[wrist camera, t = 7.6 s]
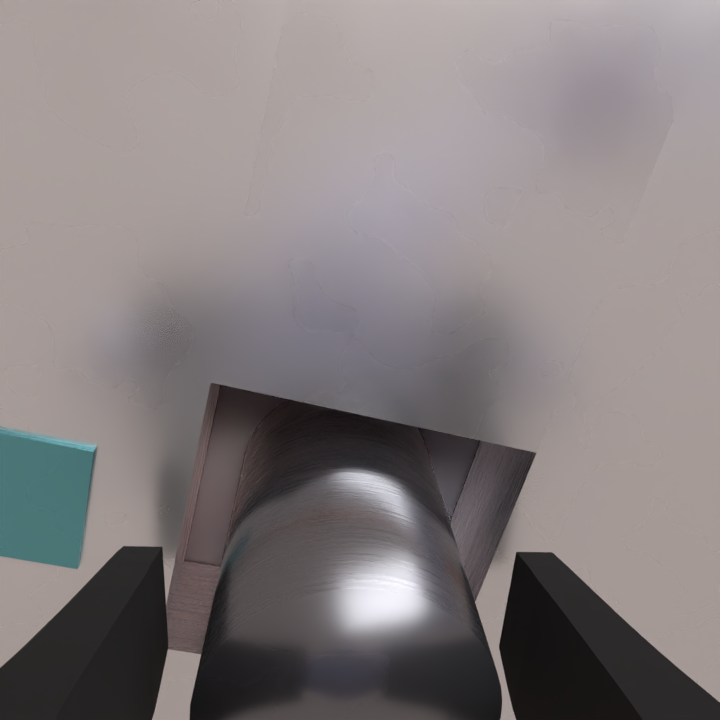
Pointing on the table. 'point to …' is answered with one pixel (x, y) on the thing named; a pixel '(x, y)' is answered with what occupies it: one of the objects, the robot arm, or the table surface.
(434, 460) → the table surface
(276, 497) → the cylinder
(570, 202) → the plate
